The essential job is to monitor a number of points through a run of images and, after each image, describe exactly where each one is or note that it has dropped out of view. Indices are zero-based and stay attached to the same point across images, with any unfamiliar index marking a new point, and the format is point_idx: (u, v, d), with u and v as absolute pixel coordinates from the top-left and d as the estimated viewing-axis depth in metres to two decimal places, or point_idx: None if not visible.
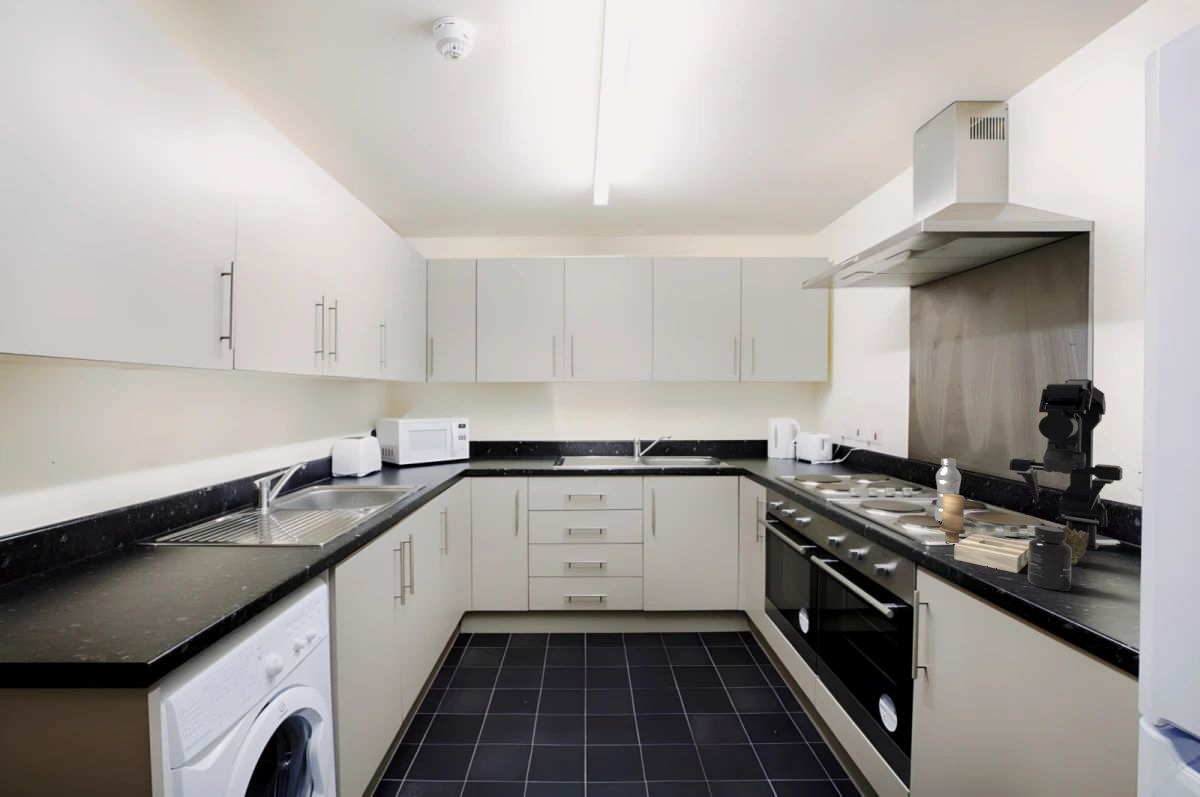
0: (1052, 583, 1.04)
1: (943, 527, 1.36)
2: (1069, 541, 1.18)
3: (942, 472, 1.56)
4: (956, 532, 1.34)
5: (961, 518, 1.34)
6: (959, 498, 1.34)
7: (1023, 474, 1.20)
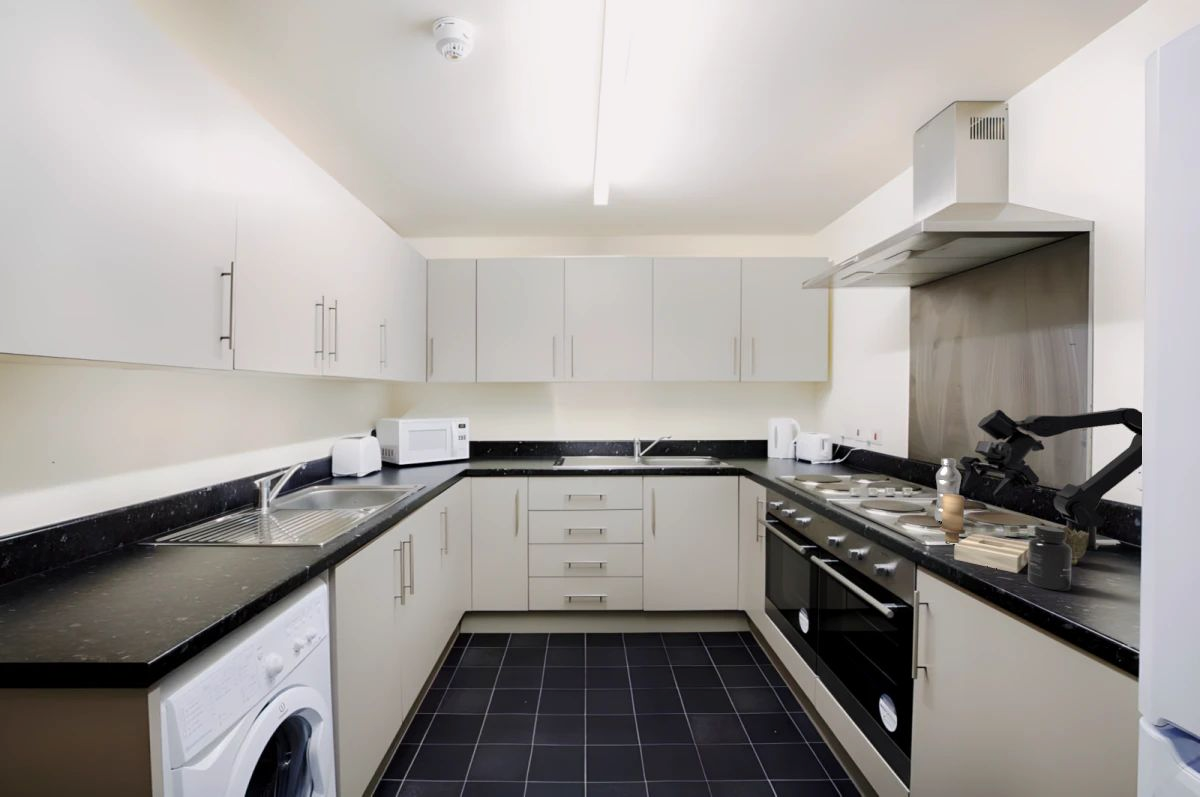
0: (1052, 583, 1.04)
1: (943, 527, 1.36)
2: (1069, 541, 1.18)
3: (942, 472, 1.56)
4: (956, 532, 1.34)
5: (961, 518, 1.34)
6: (959, 498, 1.34)
7: (965, 464, 1.45)
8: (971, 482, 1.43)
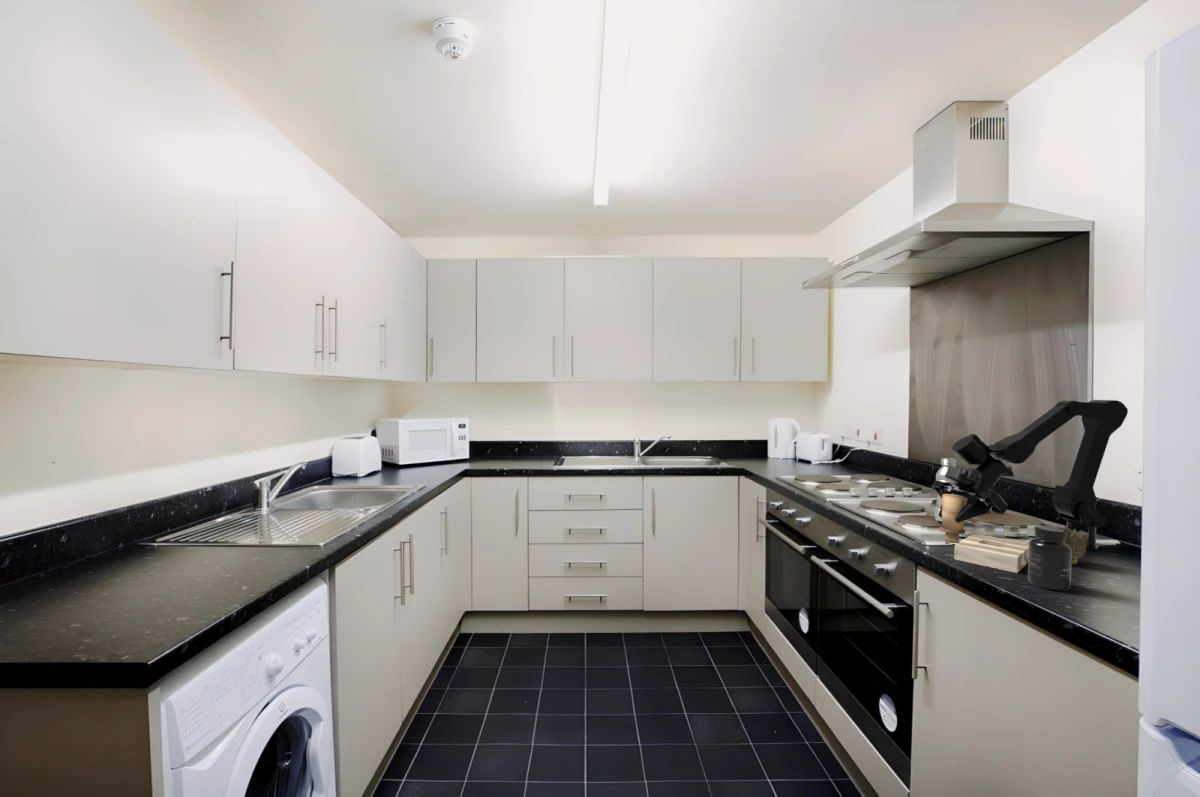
0: (1052, 583, 1.04)
1: (943, 527, 1.36)
2: (1069, 541, 1.18)
3: (942, 472, 1.56)
4: (956, 532, 1.34)
5: None
6: (959, 498, 1.34)
7: (942, 490, 1.41)
8: None
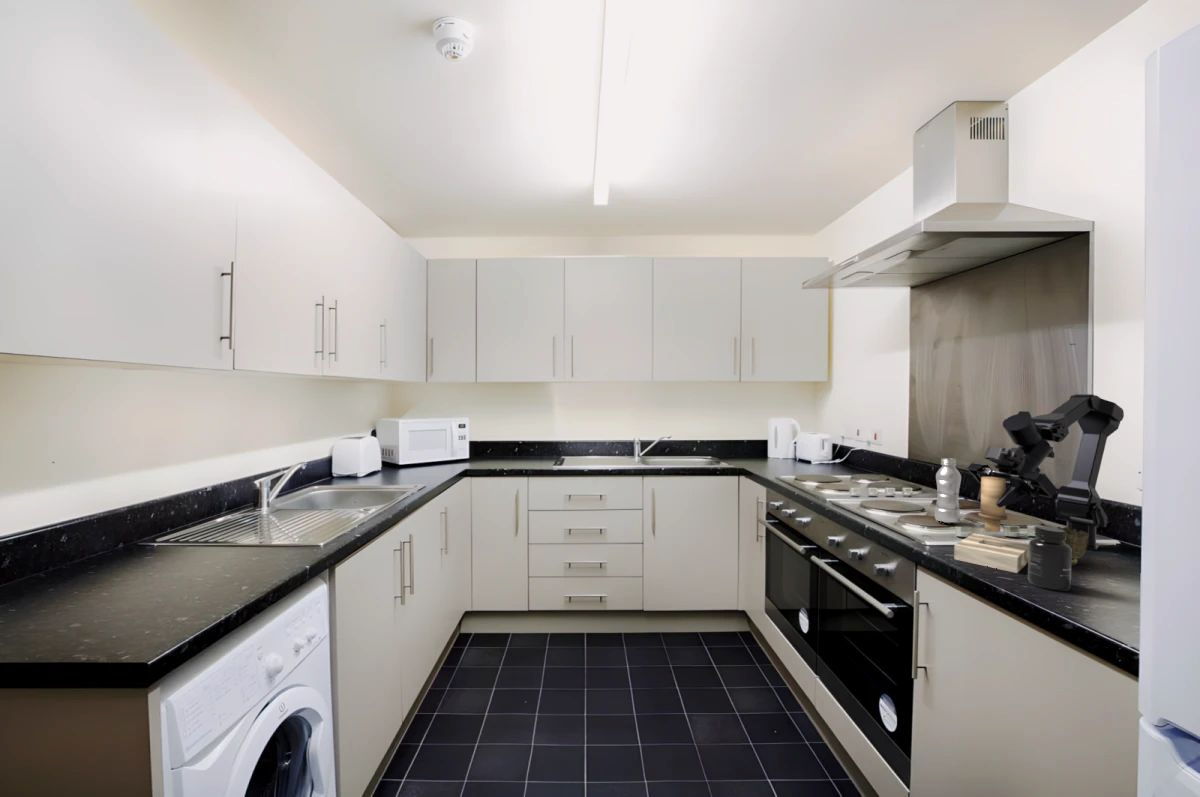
0: (1052, 583, 1.04)
1: (982, 513, 1.25)
2: (1069, 541, 1.18)
3: (942, 472, 1.56)
4: (998, 518, 1.22)
5: None
6: (1001, 481, 1.22)
7: (981, 473, 1.29)
8: None
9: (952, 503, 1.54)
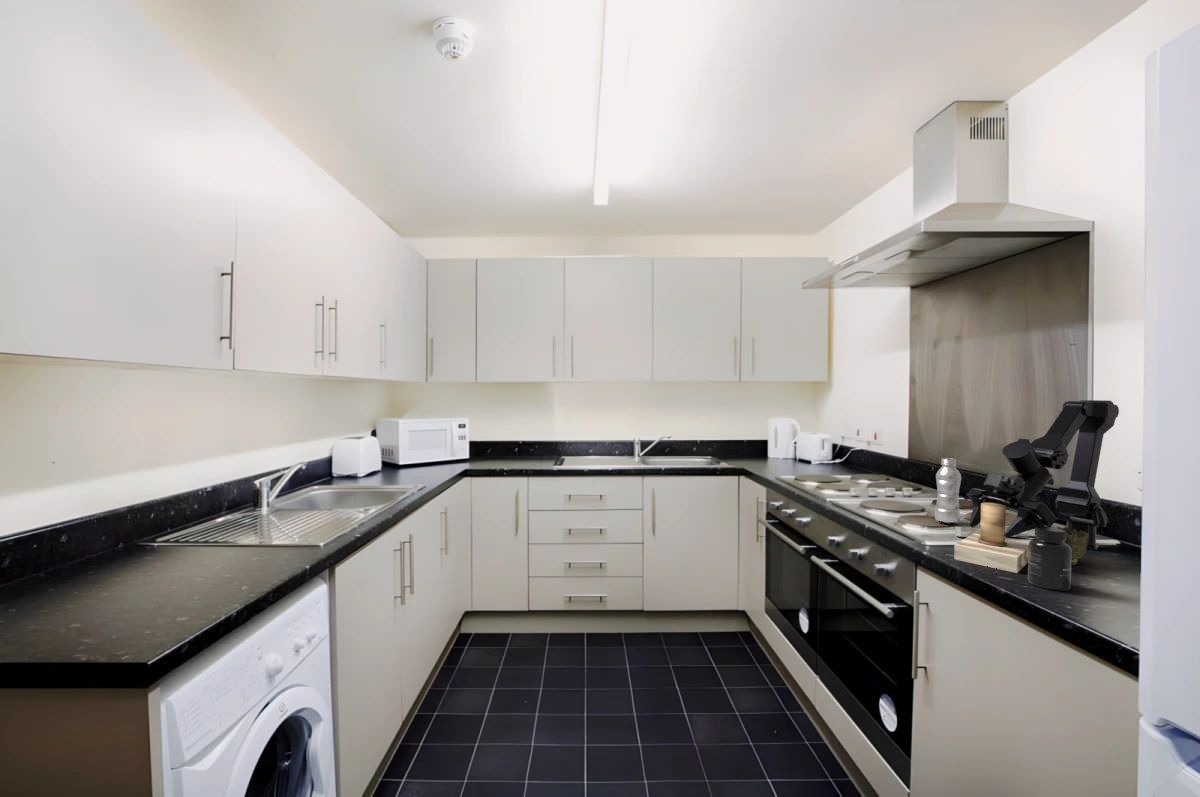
0: (1052, 583, 1.04)
1: (982, 539, 1.25)
2: (1069, 541, 1.18)
3: (942, 472, 1.56)
4: (997, 545, 1.22)
5: (1003, 529, 1.23)
6: (1001, 507, 1.23)
7: (973, 497, 1.32)
8: (979, 518, 1.30)
9: (952, 503, 1.54)
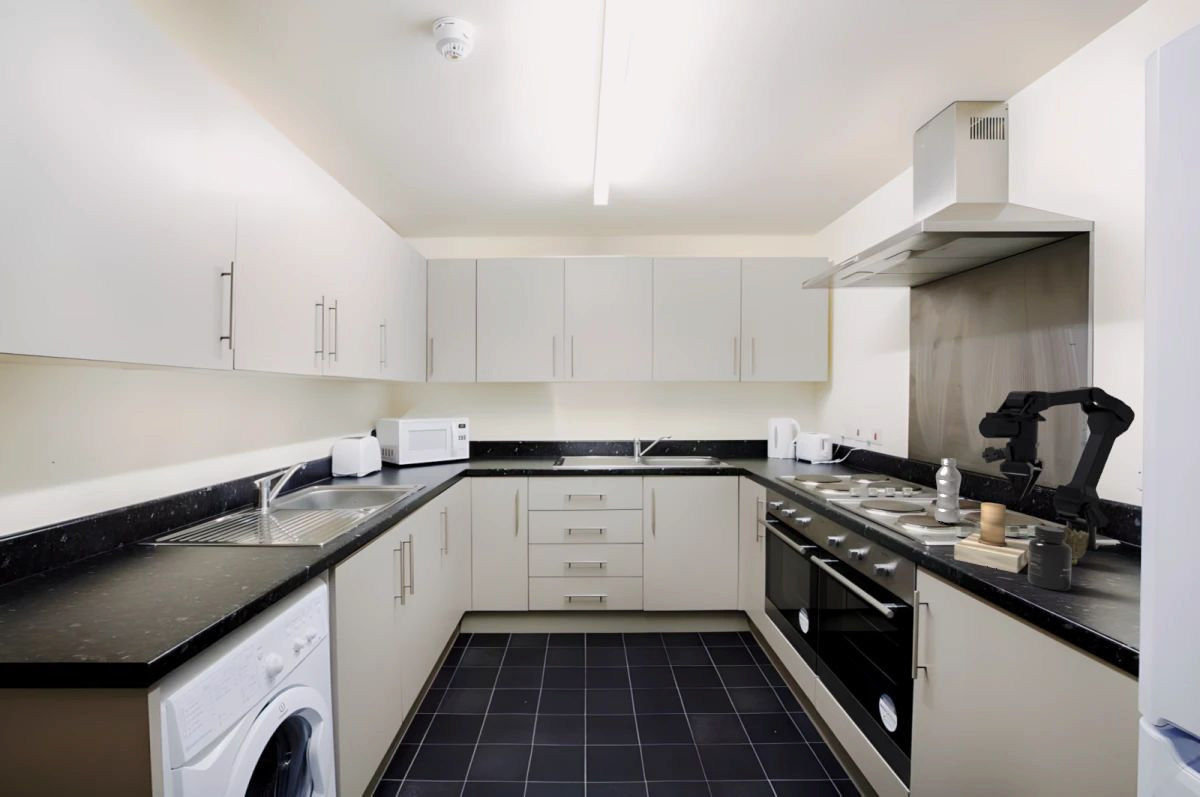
0: (1052, 583, 1.04)
1: (982, 539, 1.25)
2: (1069, 541, 1.18)
3: (942, 472, 1.56)
4: (997, 545, 1.22)
5: (1003, 529, 1.23)
6: (1001, 507, 1.23)
7: None
8: (1028, 483, 1.36)
9: (952, 503, 1.54)
